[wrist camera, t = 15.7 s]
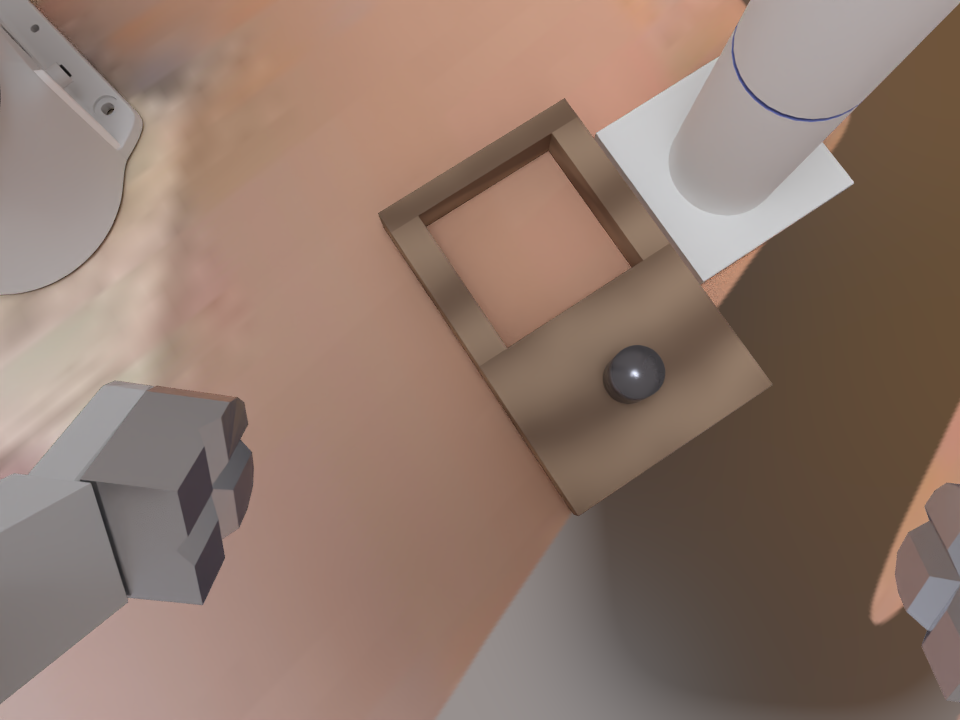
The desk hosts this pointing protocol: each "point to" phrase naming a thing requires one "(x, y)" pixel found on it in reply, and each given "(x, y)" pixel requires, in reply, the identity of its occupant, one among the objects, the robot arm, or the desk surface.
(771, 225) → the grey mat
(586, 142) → the walnut board
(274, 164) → the desk surface
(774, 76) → the cylindrical container
